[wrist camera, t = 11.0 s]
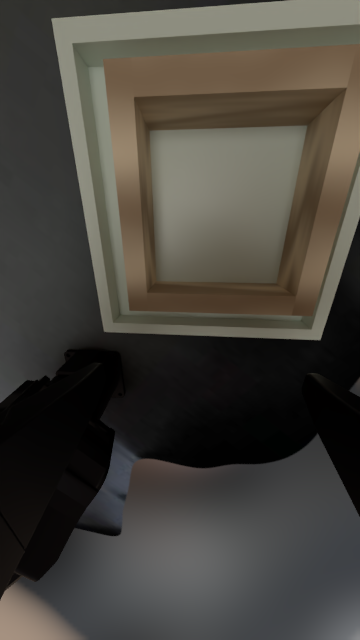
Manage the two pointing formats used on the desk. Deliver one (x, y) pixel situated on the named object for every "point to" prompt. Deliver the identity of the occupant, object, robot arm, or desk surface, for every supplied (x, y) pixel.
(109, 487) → the desk surface
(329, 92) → the frame ring
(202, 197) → the tray
